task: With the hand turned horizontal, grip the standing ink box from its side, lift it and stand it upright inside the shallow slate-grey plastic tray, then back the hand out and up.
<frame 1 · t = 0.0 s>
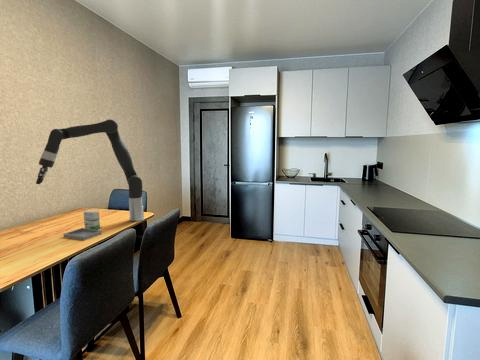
hand: (38, 183, 168), 31 cm above the table, tool tilted 20°, fingers open, 8 cm apart
ink box: (92, 229, 178), on the table
tray: (83, 235, 165), on the table
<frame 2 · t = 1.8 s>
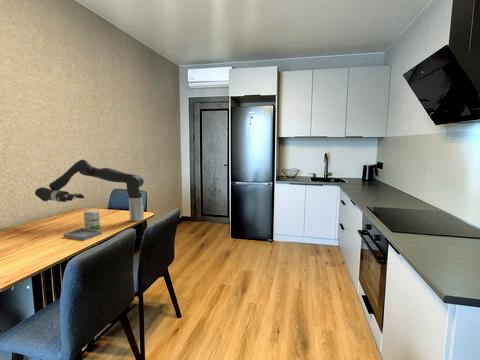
hand: (77, 197, 179), 20 cm above the table, tool horizontal, fingers open, 8 cm apart
nothing on the table moved.
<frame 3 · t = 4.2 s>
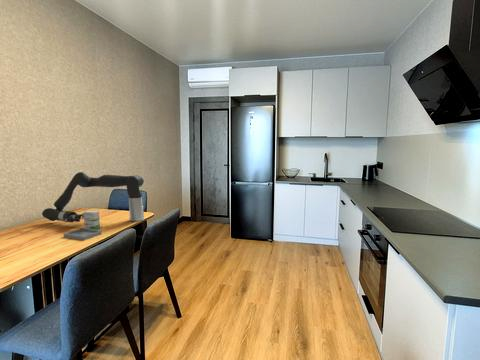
hand: (85, 218, 180), 6 cm above the table, tool horizontal, fingers open, 8 cm apart
nothing on the table moved.
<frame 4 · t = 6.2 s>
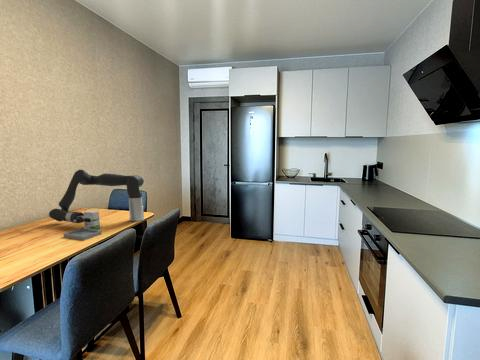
hand: (93, 219, 177), 7 cm above the table, tool horizontal, fingers closed on ink box, 5 cm apart
ink box: (92, 229, 178), on the table, touching gripper
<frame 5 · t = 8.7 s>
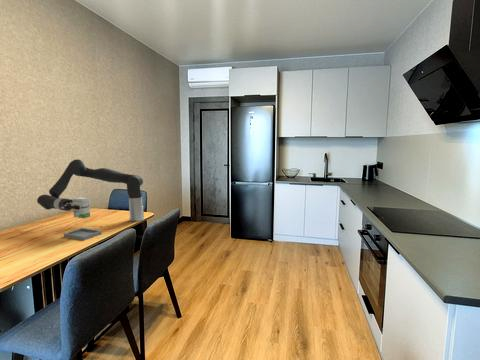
hand: (83, 206, 164), 18 cm above the table, tool horizontal, fingers closed on ink box, 5 cm apart
ink box: (81, 217, 166), point 11 cm above the table, touching gripper
when the fingers open (8 cm above the table, at t = 11.6 s): ink box drops 1 cm, resting on tray.
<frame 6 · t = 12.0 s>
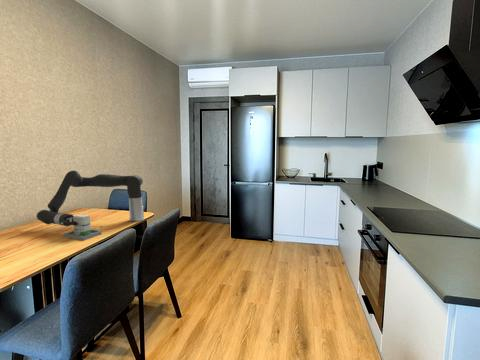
hand: (83, 221, 164), 9 cm above the table, tool horizontal, fingers open, 8 cm apart
ink box: (82, 234, 165), resting on tray
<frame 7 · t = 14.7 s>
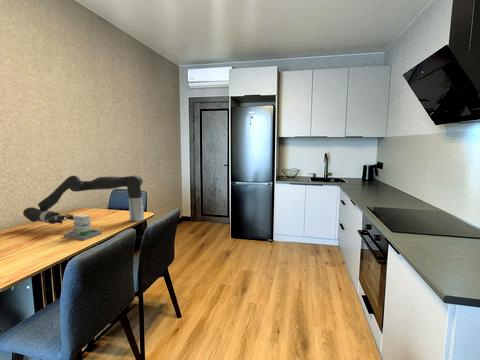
hand: (68, 220, 168), 9 cm above the table, tool horizontal, fingers open, 8 cm apart
nothing on the table moved.
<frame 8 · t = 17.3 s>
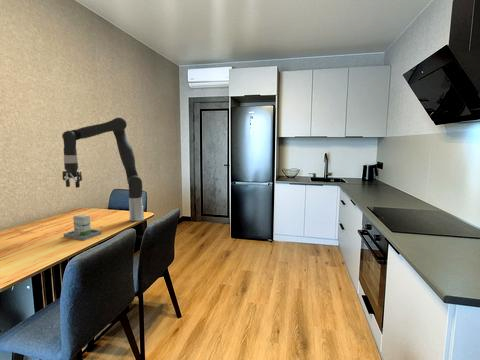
hand: (72, 187, 175), 28 cm above the table, tool pointing down, fingers open, 8 cm apart
nothing on the table moved.
at the end: ink box inside the target area on the tray (0.1 cm from its centre), point 0.4 cm above the tray's base; ink box tilted 0°; the gripper is holding nothing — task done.
